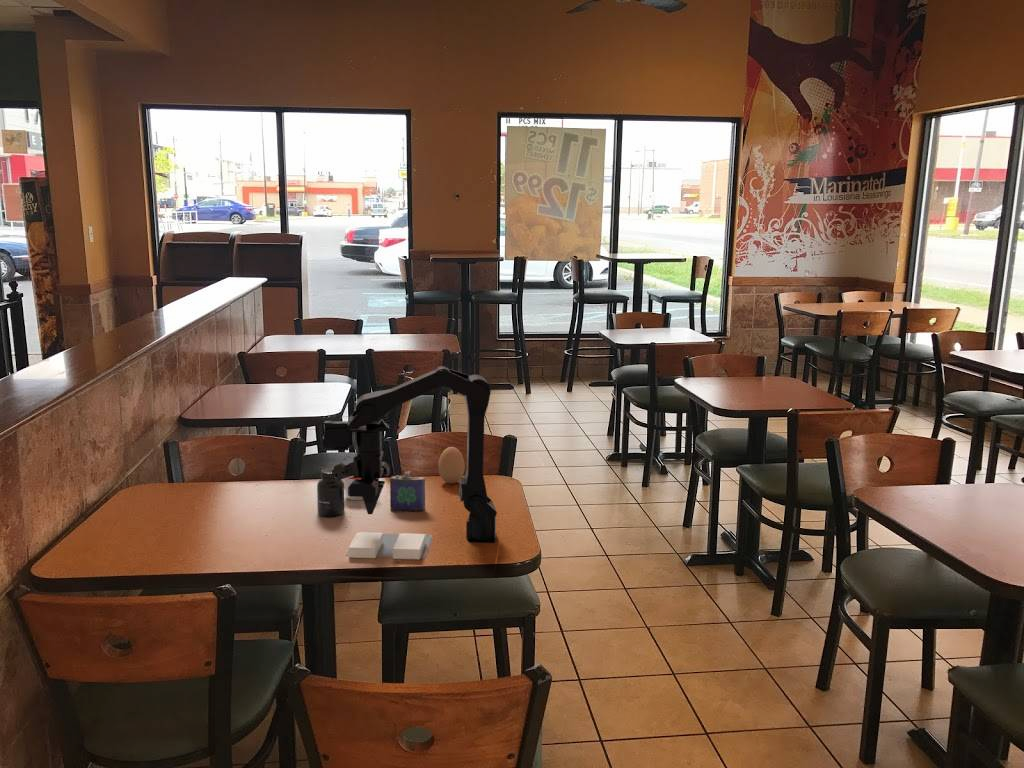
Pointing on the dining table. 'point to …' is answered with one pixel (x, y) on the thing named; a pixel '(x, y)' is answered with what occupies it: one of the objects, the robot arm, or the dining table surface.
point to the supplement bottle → (330, 495)
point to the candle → (347, 483)
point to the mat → (390, 541)
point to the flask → (407, 493)
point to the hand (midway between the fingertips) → (370, 513)
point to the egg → (451, 465)
